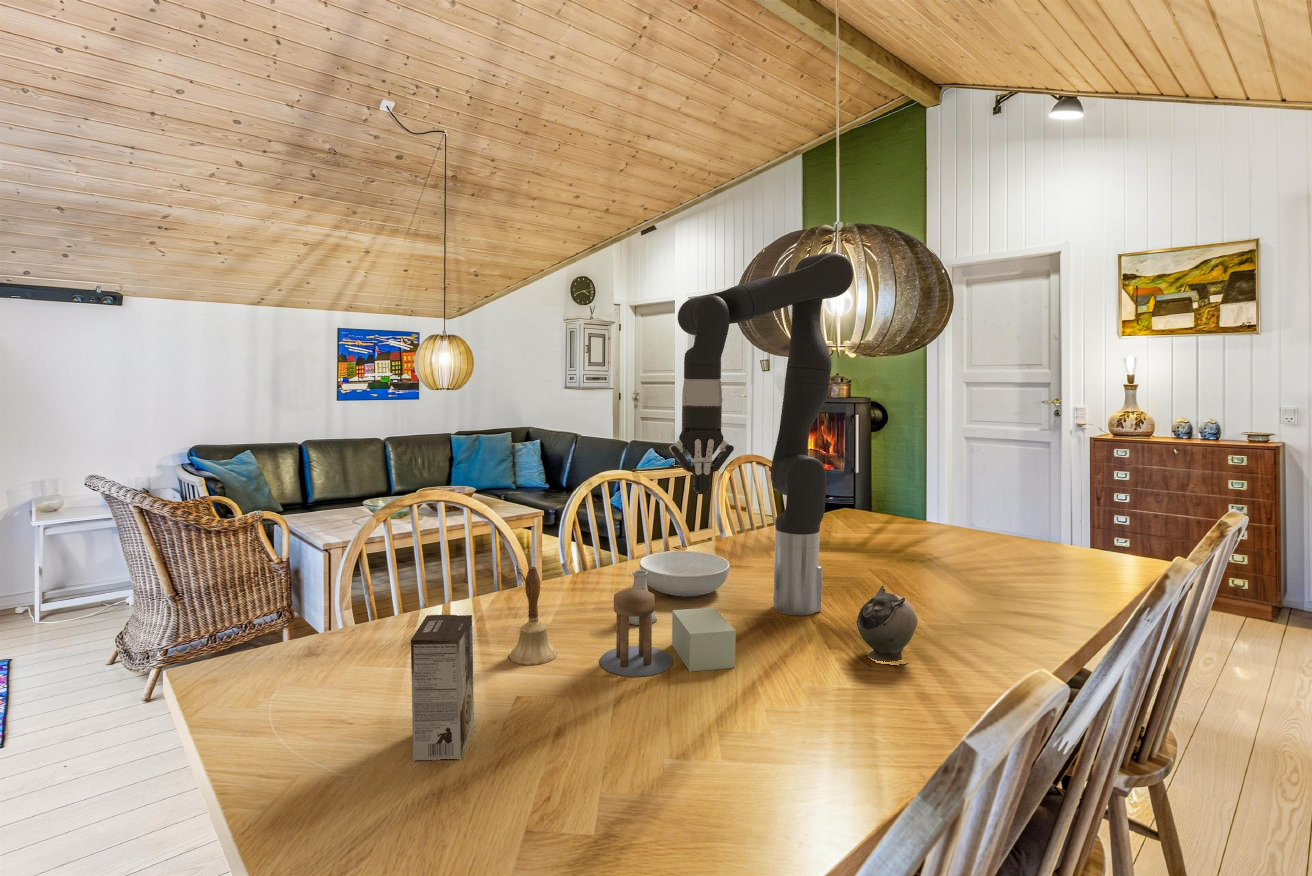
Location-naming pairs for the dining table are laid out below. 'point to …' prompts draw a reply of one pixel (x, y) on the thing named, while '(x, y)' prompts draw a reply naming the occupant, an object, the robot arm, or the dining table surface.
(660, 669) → the mat
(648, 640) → the stool
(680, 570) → the serving bowl
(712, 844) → the dining table surface
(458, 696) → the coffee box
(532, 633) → the hand bell
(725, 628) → the box
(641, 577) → the flask
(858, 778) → the dining table surface
